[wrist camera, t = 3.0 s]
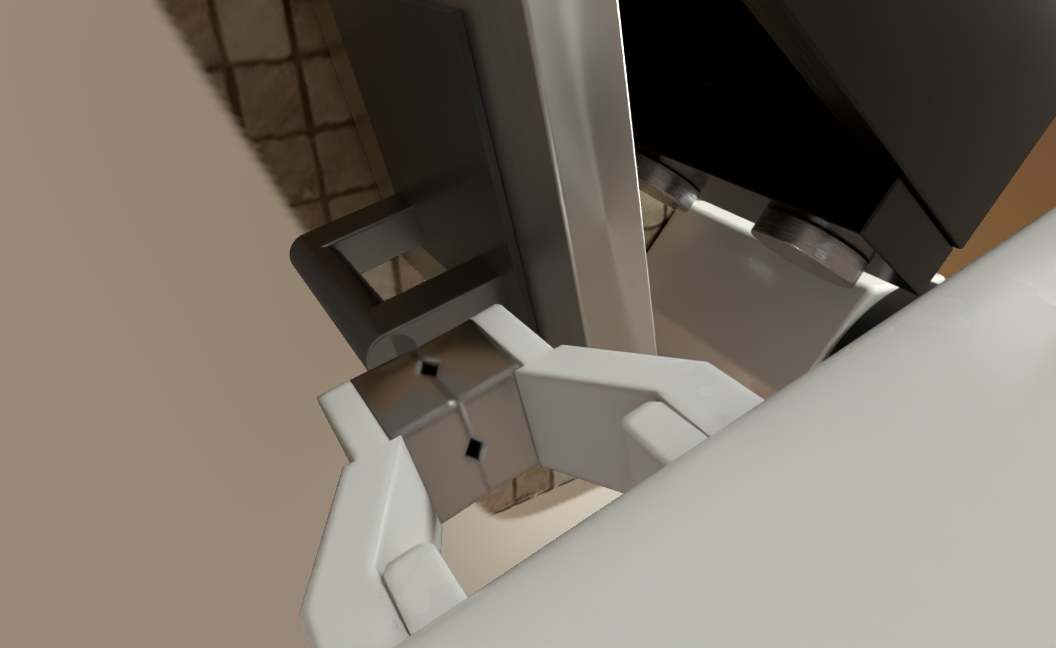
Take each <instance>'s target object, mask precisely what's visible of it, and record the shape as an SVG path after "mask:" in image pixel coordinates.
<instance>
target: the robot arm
mask: <svg viewBox="0 0 1056 648" xmlns="http://www.w3.org/2000/svg"><path fill="white" fill-rule="evenodd" d="M317 399H318V402H319V404H320V406H321V408H322V410H323V412H324V414H325V416H326V418H327V420H328V422H329V423H330V425H331V427H332V429H333V431H334V433H335V434H336V437H337V439H338V441H339V442H340V444H341V446H342V448H343V450H344V452H345V454H346V456H347V457H348V460H349V461H350V464H348V465H346V466H345V467H343V469H342V472H341V475H340V479H339V482H338V485H337V489H336V492H335V495H334V499H333V502H332V506H331V509H330V512H329V515H328V519H327V522H326V526H325V529H324V532H323V536H322V539H321V543H320V546H319V549H318V552H317V556H316V559H315V563H314V566H313V569H312V573H311V576H310V579H309V583H308V586H307V589H306V593H305V596H304V599H303V602H302V606H301V609H300V612H299V616H300V618H301V621H302V624H303V627H304V630H305V633H306V635H307V638H308V641H309V644H310V647H311V648H1056V207H1054V208H1053V209H1051V210H1050V211H1048V212H1047V213H1045V214H1044V215H1042V216H1041V217H1039V218H1038V219H1036V220H1035V221H1033V222H1032V223H1030V224H1029V225H1027V226H1026V227H1024V228H1023V229H1021V230H1020V231H1018V232H1017V233H1015V234H1014V235H1012V236H1011V237H1009V238H1008V239H1006V240H1005V241H1003V242H1002V243H1000V244H999V245H997V246H996V247H994V248H993V249H991V250H990V251H988V252H987V253H985V254H984V255H982V256H981V257H979V258H978V259H976V260H975V261H973V262H972V263H970V264H969V265H967V266H966V267H964V268H963V269H961V270H960V271H958V272H957V273H955V274H954V275H952V276H950V277H949V278H947V279H946V280H944V281H943V282H941V283H940V284H938V285H937V286H935V287H934V288H932V289H931V290H929V291H928V292H926V293H925V294H923V295H922V296H920V297H919V298H917V299H916V300H914V301H913V302H911V303H910V304H908V305H907V306H905V307H904V308H902V309H901V310H899V311H898V312H896V313H895V314H893V315H892V316H890V317H889V318H887V319H886V320H884V321H883V322H881V323H880V324H878V325H877V326H875V327H874V328H872V329H871V330H869V331H868V332H866V333H865V334H863V335H862V336H860V337H859V338H857V339H856V340H854V341H853V342H851V343H850V344H848V345H847V346H845V347H844V348H842V349H841V350H839V351H838V352H836V353H835V354H833V355H832V356H830V357H829V358H827V359H826V360H824V361H823V362H821V363H820V364H818V365H817V366H815V367H814V368H812V369H811V370H809V371H808V372H806V373H805V374H803V375H802V376H800V377H799V378H797V379H796V380H794V381H793V382H791V383H790V384H789V385H787V386H785V387H784V388H782V389H781V390H779V391H778V392H776V393H775V394H773V395H772V396H770V397H769V398H767V399H766V400H764V399H762V398H761V397H759V396H758V395H757V394H755V393H754V392H752V391H751V390H749V389H748V388H746V387H745V386H743V385H742V384H740V383H739V382H737V381H736V380H734V379H733V378H731V377H730V376H728V375H727V374H725V373H724V372H722V371H721V370H719V369H718V368H716V367H715V366H713V365H712V364H710V363H709V362H704V361H695V360H687V359H678V358H670V357H662V356H653V355H645V354H636V353H628V352H620V351H611V350H603V349H594V348H586V347H578V346H569V345H560V346H559V347H557V348H555V349H554V348H552V347H551V346H550V345H549V344H548V343H546V342H545V341H544V340H543V339H542V338H540V337H539V336H538V335H537V334H536V333H534V332H533V331H532V330H531V329H530V328H528V327H527V326H526V325H525V324H524V323H522V322H521V321H520V320H519V319H518V318H516V317H515V316H514V315H513V314H512V313H510V312H509V311H508V310H507V309H506V308H504V307H503V306H502V305H499V304H494V305H492V306H491V307H489V308H487V309H485V310H484V311H482V312H480V313H478V314H476V315H475V316H473V317H471V318H469V319H468V321H466V322H464V323H462V324H460V325H458V326H456V327H454V328H453V329H451V330H449V331H447V332H445V333H443V334H441V335H439V336H438V337H436V338H434V339H432V340H430V341H428V342H426V343H424V344H423V345H421V346H419V347H417V348H415V349H413V350H410V351H408V352H406V353H404V354H402V355H400V356H398V357H396V358H393V359H391V360H389V361H387V362H385V363H383V364H381V365H379V366H377V367H375V368H373V369H371V370H369V371H367V372H365V373H363V374H361V375H359V376H357V377H355V378H353V379H351V380H350V382H349V381H347V382H345V383H343V384H341V385H340V386H337V387H335V388H334V389H332V390H330V391H328V392H326V393H324V394H322V395H320V396H318V397H317ZM538 464H540V465H541V466H543V467H546V468H549V469H552V470H555V471H558V472H561V473H564V474H567V475H570V476H573V477H576V478H579V479H582V480H585V481H588V482H591V483H594V484H597V485H600V486H603V487H606V488H609V489H612V490H615V491H619V492H621V493H624V494H623V495H621V496H620V497H618V498H616V499H615V500H613V501H612V502H611V503H609V504H607V505H606V506H604V507H603V508H601V509H600V510H599V511H597V512H595V513H594V514H592V515H591V516H590V517H588V518H586V519H585V520H583V521H582V522H580V523H579V524H577V525H576V526H574V527H573V528H571V529H570V530H569V531H567V532H565V533H564V534H562V535H561V536H559V537H558V538H556V539H555V540H553V541H552V542H550V543H549V544H548V545H546V546H544V547H543V548H542V549H540V550H538V551H537V552H536V553H534V554H532V555H531V556H529V557H528V558H526V559H525V560H523V561H522V562H520V563H519V564H517V565H516V566H514V567H513V568H511V569H510V570H508V571H507V572H505V573H504V574H502V575H501V576H499V577H498V578H496V579H495V580H493V581H492V582H490V583H489V584H487V585H486V586H484V587H483V588H481V589H480V590H478V591H477V592H475V593H474V594H472V595H471V596H469V597H467V596H466V594H465V593H464V591H463V589H462V588H461V586H460V585H459V583H458V582H457V580H456V578H455V577H454V576H453V574H452V572H451V571H450V569H449V567H448V566H447V564H446V563H445V561H444V560H443V558H442V557H441V542H442V526H441V524H442V523H444V522H445V521H447V520H448V519H450V518H451V517H453V516H455V515H456V514H457V513H459V512H461V511H462V510H464V509H465V508H467V507H468V506H470V505H471V504H473V503H474V502H476V501H477V500H479V499H481V498H482V497H484V496H485V495H487V494H488V493H490V492H491V491H493V490H495V489H497V488H498V487H500V486H502V485H503V484H505V483H507V482H509V481H510V480H512V479H514V478H515V477H517V476H519V475H521V474H522V473H524V472H526V471H528V470H529V469H531V468H533V467H534V466H536V465H538Z"/></svg>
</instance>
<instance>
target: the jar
mask: <svg viewBox="0 0 1056 648" xmlns="http://www.w3.org/2000/svg"><path fill="white" fill-rule="evenodd" d="M754 224H755V223H753V222H750V221H748V220H746V219H744V218H741V217H739V216H737V215H735V214H732V213H730V212H728V211H726V210H723V209H721V208H719V207H717V206H714V205H712V204H710V203H707V202H705V201H703V200H702V201H694V203H693V204H692V206H691V208H690V209H689V211H688V212H681V211H679V210H675V212H674V213H673V215H672V216H671V218H670V219H669V221H668V222H667V224H666V225H665V227H664V228H663V230H662V231H661V233H660V234H659V236H658V237H657V239H656V240H655V242H654V243H653V245H652V246H651V248H650V249H649V251H648V252H647V254H646V257H647V266H648V275H649V284H650V293H651V302H652V311H653V320H654V329H655V338H656V347H657V356H662V357H670V358H678V359H687V360H695V361H704V362H709V363H710V364H712V365H713V366H715V367H716V368H718V369H719V370H721V371H722V372H724V373H725V374H727V375H728V376H730V377H731V378H733V379H734V380H736V381H737V382H739V383H740V384H742V385H743V386H745V387H746V388H748V389H749V390H751V391H752V392H754V393H755V394H757V395H758V396H759V397H761V398H762V399H764V400H766V399H767V398H769V397H770V396H772V395H773V394H775V393H776V392H778V391H779V390H781V389H782V388H784V387H785V386H787V385H789V384H790V383H791V382H793V381H794V380H796V379H797V378H799V377H800V376H802V375H803V374H805V373H806V372H808V371H809V370H811V369H812V368H814V367H815V366H817V365H818V364H820V363H821V362H823V361H824V360H826V359H827V358H829V357H830V356H832V355H833V354H835V353H836V352H838V351H839V350H841V349H842V348H844V347H845V346H847V345H848V344H850V343H851V342H853V341H854V340H856V339H857V338H859V337H860V336H862V335H863V334H865V333H866V332H868V331H869V330H871V329H872V328H874V327H875V326H877V325H878V324H880V323H881V322H883V321H884V320H886V319H887V318H889V317H890V316H892V315H893V314H895V313H896V312H898V311H899V310H901V309H902V308H904V307H905V306H907V305H908V304H910V303H911V302H913V301H914V300H916V299H917V298H919V297H920V296H922V295H923V294H925V293H926V292H928V291H929V290H931V289H932V288H934V287H935V286H937V285H938V284H940V283H941V282H943V281H944V280H945V278H944V277H943V276H942V275H940V274H937V273H936V274H935V276H934V277H933V279H932V280H931V282H930V283H929V284H928V286H927V287H926V289H925V290H924V291H923V293H922V294H921V295H920V296H918V295H915V294H913V293H911V292H908V291H906V290H904V289H901V288H899V287H897V286H895V285H892V284H890V283H888V282H886V281H883V280H881V279H879V278H877V277H874V276H872V275H870V274H868V273H865V272H863V274H862V275H861V277H860V278H859V280H858V281H857V282H856V284H855V285H854V287H853V288H851V289H848V288H843V287H840V286H837V285H835V284H832V283H830V282H827V281H825V280H823V279H821V278H819V277H817V276H815V275H813V274H811V273H809V272H807V271H805V270H803V269H802V268H800V267H798V266H796V265H794V264H793V263H791V262H789V261H788V260H786V259H784V258H783V257H781V256H779V255H778V254H776V253H775V252H773V251H772V250H770V249H769V248H767V247H766V246H765V245H763V244H762V243H761V242H759V241H758V240H757V239H756V238H755V237H754V236H753V235H752V233H751V229H752V228H753V226H754Z"/></svg>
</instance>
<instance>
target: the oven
mask: <svg viewBox="0 0 1056 648" xmlns="http://www.w3.org/2000/svg"><path fill="white" fill-rule="evenodd" d="M618 3H619V12H620V21H621V30H622V39H623V48H624V57H625V67H626V76H627V85H628V94H629V103H630V112H631V121H632V130H633V139H634V148H635V157H636V166H637V175H638V184H639V189H640V190H641V191H643V192H645V193H646V194H648V195H650V196H651V197H653V198H655V199H657V200H658V201H660V202H662V203H664V204H666V205H668V206H670V207H672V208H674V209H676V210H679V211H681V212H688V211H689V209H690V208H691V206H692V204H693V203H694V201H695V200H696V198H698V199H701V200H703V201H705V202H707V203H710V204H712V205H714V206H717V207H719V208H721V209H723V210H726V211H728V212H730V213H732V214H735V215H737V216H739V217H741V218H744V219H746V220H748V221H750V222H753V223H755V224H754V226H753V228H752V229H751V233H752V235H753V236H754V237H755V238H756V239H757V240H758V241H759V242H761V243H762V244H763V245H765V246H766V247H767V248H769V249H770V250H772V251H773V252H775V253H776V254H778V255H779V256H781V257H783V258H784V259H786V260H788V261H789V262H791V263H793V264H794V265H796V266H798V267H800V268H802V269H803V270H805V271H807V272H809V273H811V274H813V275H815V276H817V277H819V278H821V279H823V280H825V281H827V282H830V283H832V284H835V285H837V286H840V287H843V288H848V289H851V288H853V287H854V285H855V284H856V282H857V281H858V280H859V278H860V277H861V275H862V274H863V272H865V273H868V274H870V275H872V276H874V277H877V278H879V279H881V280H883V281H886V282H888V283H890V284H892V285H895V286H897V287H899V288H901V289H904V290H906V291H908V292H911V293H913V294H915V295H918V296H920V295H921V294H922V293H923V291H924V290H925V289H926V287H927V286H928V284H929V283H930V282H931V280H932V279H933V277H934V276H935V274H936V273H937V272H938V270H939V269H940V267H941V266H942V264H943V263H944V262H945V260H946V259H947V257H948V256H949V254H950V253H951V251H952V250H953V247H956V248H959V249H962V248H963V247H964V246H965V244H966V243H967V241H968V240H969V239H970V237H971V236H972V234H973V233H974V232H975V230H976V229H977V227H978V226H979V224H980V223H981V222H982V220H983V219H984V217H985V216H986V214H987V213H988V212H989V210H990V209H991V207H992V206H993V205H994V203H995V202H996V200H997V199H998V197H999V196H1000V195H1001V193H1002V192H1003V190H1004V189H1005V187H1006V186H1007V185H1008V183H1009V182H1010V180H1011V179H1012V177H1013V176H1014V175H1015V173H1016V172H1017V170H1018V169H1019V167H1020V166H1021V165H1022V163H1023V162H1024V160H1025V159H1026V158H1027V156H1028V155H1029V153H1030V152H1031V150H1032V149H1033V148H1034V146H1035V145H1036V143H1037V142H1038V141H1039V139H1040V138H1041V136H1042V135H1043V133H1044V132H1045V131H1046V129H1047V127H1048V126H1049V125H1050V123H1051V122H1052V121H1053V119H1054V118H1055V116H1056V0H618ZM952 246H953V247H952Z"/></svg>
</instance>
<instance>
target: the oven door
mask: <svg viewBox="0 0 1056 648" xmlns="http://www.w3.org/2000/svg"><path fill="white" fill-rule="evenodd" d="M311 2H312V5H313V8H314V11H315V13H316V16H317V19H318V22H319V25H320V27H321V30H322V33H323V36H324V38H325V41H326V44H327V47H328V50H329V52H330V55H331V58H332V61H333V63H334V66H335V69H336V72H337V75H338V77H339V80H340V83H341V86H342V88H343V91H344V94H345V97H346V100H347V102H348V105H349V108H350V111H351V113H352V116H353V119H354V122H355V125H356V127H357V130H358V133H359V136H360V138H361V141H362V144H363V147H364V150H365V152H366V155H367V158H368V161H369V163H370V166H371V169H372V172H373V175H374V177H375V180H376V183H377V186H378V188H379V191H380V194H381V197H382V200H380V201H378V202H376V203H374V204H371V205H369V206H367V207H364V208H362V209H360V210H358V211H355V212H353V213H351V214H348V215H346V216H344V217H342V218H339V219H337V220H335V221H332V222H330V223H328V224H326V225H323V226H321V227H319V228H316V229H314V230H312V231H310V232H307V233H305V234H303V235H301V236H299V237H298V238H297V239H296V240H295V241H294V243H293V244H292V246H291V249H290V260H291V262H292V264H293V266H294V267H295V269H296V270H297V271H298V273H299V274H300V276H301V277H302V278H303V280H304V281H305V283H306V284H307V285H308V287H309V288H310V290H311V291H312V293H313V294H314V295H315V297H316V298H317V300H318V301H319V302H320V304H321V305H322V307H323V308H324V310H325V311H326V312H327V314H328V315H329V316H330V318H331V319H332V321H333V322H334V324H335V325H336V327H337V328H338V329H339V331H340V332H341V334H342V335H343V336H344V338H345V339H346V341H347V342H348V343H349V345H350V346H351V347H352V349H353V350H354V352H355V353H356V355H357V356H358V357H359V359H360V360H361V361H362V363H363V365H364V366H365V367H366V369H367V370H368V371H369V370H371V369H373V368H375V367H377V366H379V365H381V364H383V363H385V362H387V361H389V360H391V359H393V358H396V357H398V356H400V355H402V354H404V353H406V352H408V351H410V350H413V349H415V348H417V347H419V346H421V345H423V344H424V343H426V342H428V341H430V340H432V339H434V338H436V337H438V336H439V335H441V334H443V333H445V332H447V331H449V330H451V329H453V328H454V327H456V326H458V325H460V324H462V323H464V322H466V321H468V319H469V318H471V317H473V316H475V315H476V314H478V313H480V312H482V311H484V310H485V309H487V308H489V307H491V306H492V305H494V304H499V305H502V306H503V307H504V308H506V309H507V310H508V311H509V312H510V313H512V314H513V315H514V316H515V317H516V318H518V319H519V320H520V321H521V322H522V323H524V324H525V325H526V326H527V327H528V328H530V329H531V330H532V331H533V332H534V333H536V334H537V335H538V336H539V337H540V338H542V339H543V340H544V341H545V342H546V343H548V344H549V345H550V346H551V347H552V348H554V349H555V348H557V347H559V346H560V345H569V346H578V347H586V348H594V349H603V350H611V351H620V352H628V353H636V354H645V355H653V356H657V347H656V338H655V329H654V320H653V311H652V302H651V293H650V284H649V275H648V266H647V257H646V248H645V239H644V230H643V220H642V211H641V202H640V193H639V184H638V175H637V166H636V157H635V148H634V139H633V130H632V121H631V112H630V103H629V94H628V85H627V76H626V67H625V57H624V48H623V39H622V30H621V21H620V12H619V3H618V0H311ZM401 254H402V255H403V258H404V259H405V260H406V261H407V262H409V263H410V264H411V265H412V266H413V267H414V268H415V269H416V270H417V271H418V272H419V273H420V274H421V275H422V276H423V277H424V278H425V279H426V280H427V281H425V282H423V283H421V284H419V285H417V286H415V287H413V288H411V289H409V290H407V291H405V292H403V293H401V294H399V295H397V296H395V297H393V298H391V299H389V300H386V301H384V300H383V299H382V298H381V297H380V296H379V295H378V294H377V292H376V291H375V290H374V289H373V288H372V287H371V286H370V284H369V283H368V282H367V281H366V280H365V279H364V278H363V276H362V275H361V274H360V273H363V272H365V271H367V270H369V269H371V268H373V267H375V266H377V265H380V264H382V263H384V262H386V261H388V260H390V259H392V258H394V257H397V256H399V255H401Z"/></svg>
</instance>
